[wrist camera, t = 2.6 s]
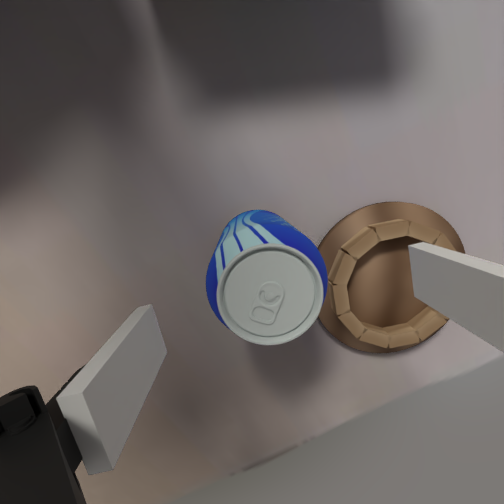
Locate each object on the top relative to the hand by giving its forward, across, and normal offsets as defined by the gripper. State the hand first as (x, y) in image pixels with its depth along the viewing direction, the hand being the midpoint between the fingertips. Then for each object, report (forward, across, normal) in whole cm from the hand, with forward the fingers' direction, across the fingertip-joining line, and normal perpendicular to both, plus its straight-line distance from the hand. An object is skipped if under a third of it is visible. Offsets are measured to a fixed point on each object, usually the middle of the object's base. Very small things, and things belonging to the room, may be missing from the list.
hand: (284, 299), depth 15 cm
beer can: (+19, -1, -1) cm, 19 cm away
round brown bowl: (+19, +13, -8) cm, 25 cm away
